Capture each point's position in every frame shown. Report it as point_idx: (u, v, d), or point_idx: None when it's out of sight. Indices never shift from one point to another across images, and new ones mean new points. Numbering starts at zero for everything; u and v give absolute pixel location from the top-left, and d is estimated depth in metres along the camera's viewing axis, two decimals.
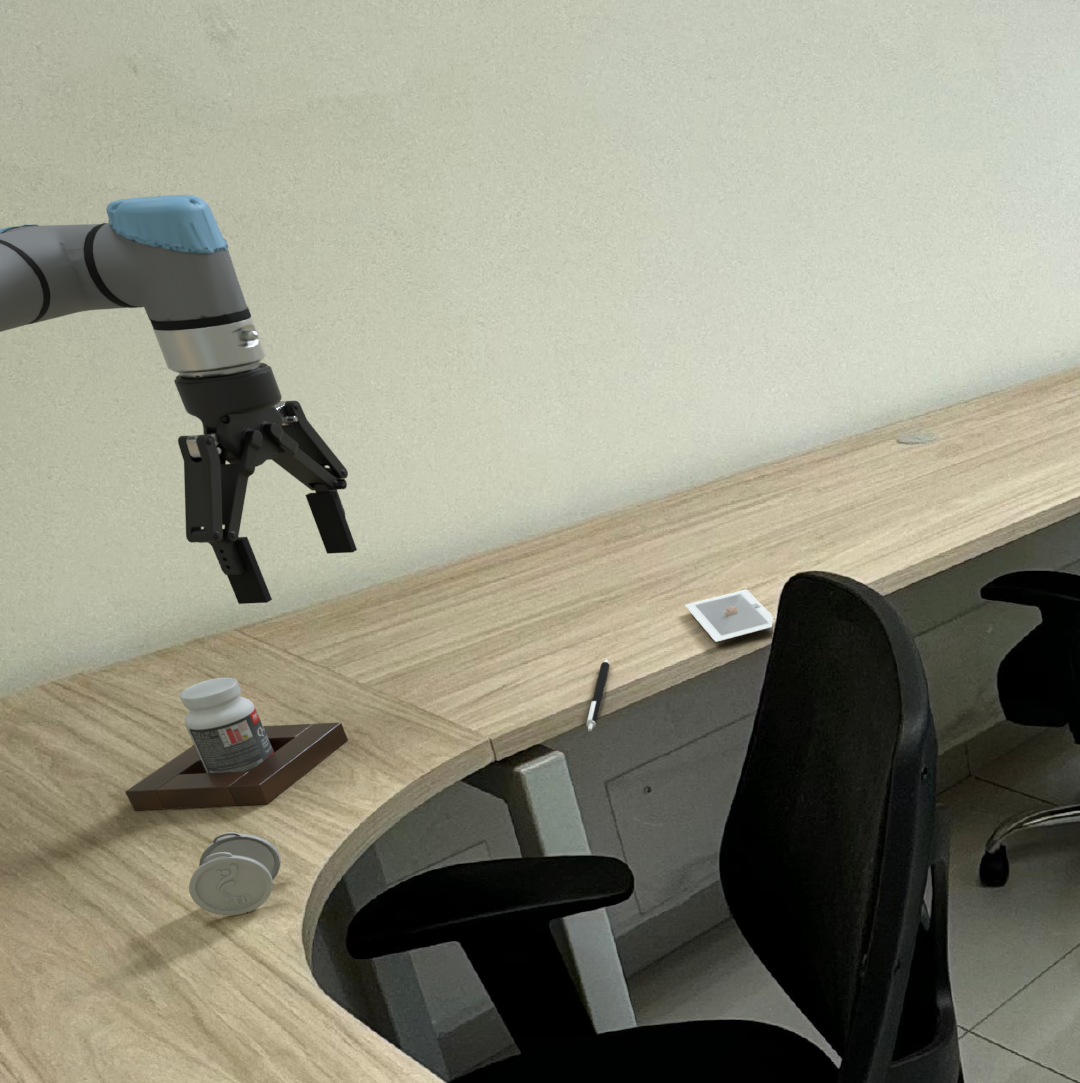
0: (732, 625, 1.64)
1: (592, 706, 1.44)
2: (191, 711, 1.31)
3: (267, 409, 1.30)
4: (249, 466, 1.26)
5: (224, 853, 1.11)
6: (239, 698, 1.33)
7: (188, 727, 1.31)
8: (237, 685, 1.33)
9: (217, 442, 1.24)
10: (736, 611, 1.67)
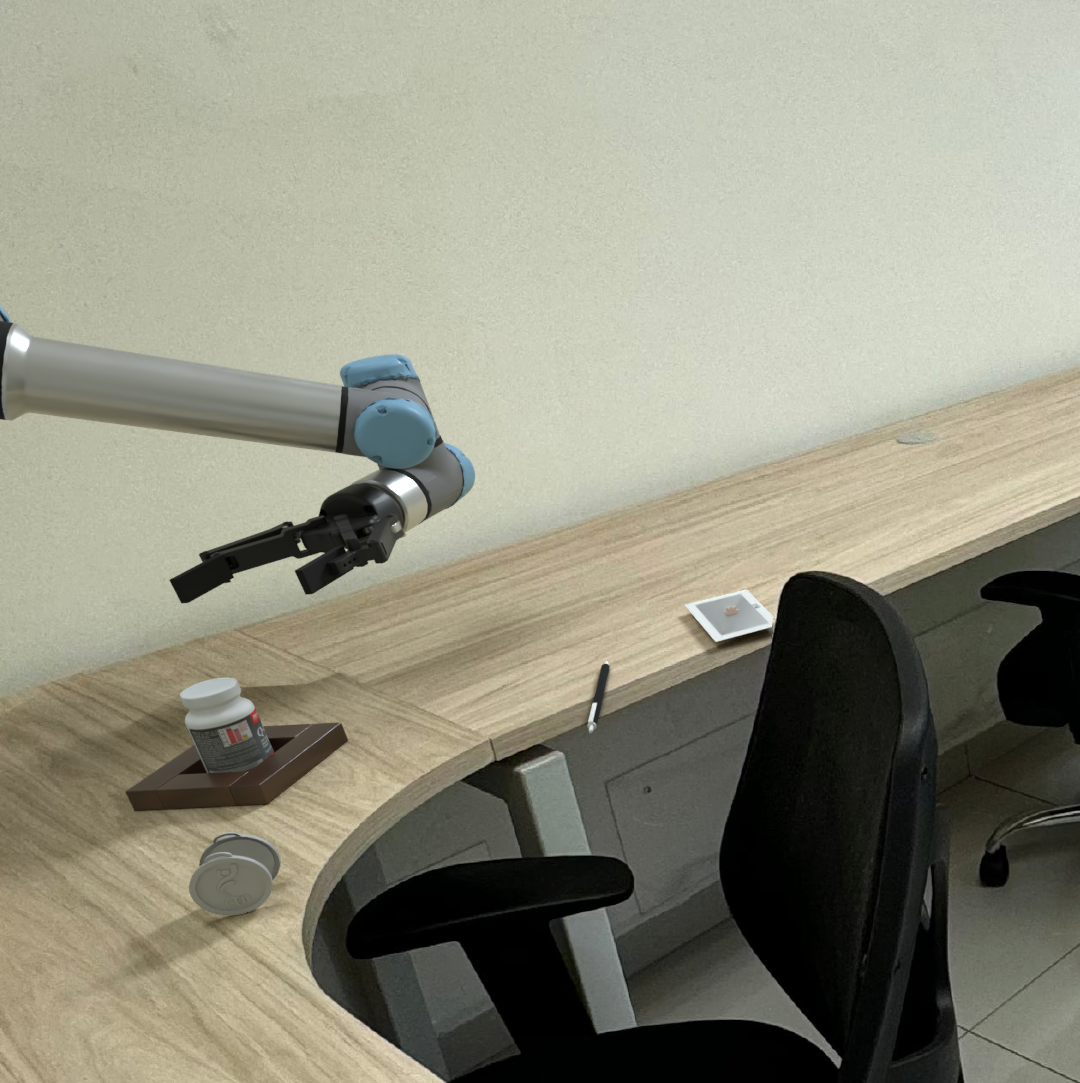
0: (732, 625, 1.64)
1: (593, 708, 1.44)
2: (191, 711, 1.31)
3: None
4: None
5: (224, 853, 1.11)
6: (239, 698, 1.33)
7: (188, 727, 1.31)
8: (237, 685, 1.33)
9: None
10: (736, 611, 1.67)
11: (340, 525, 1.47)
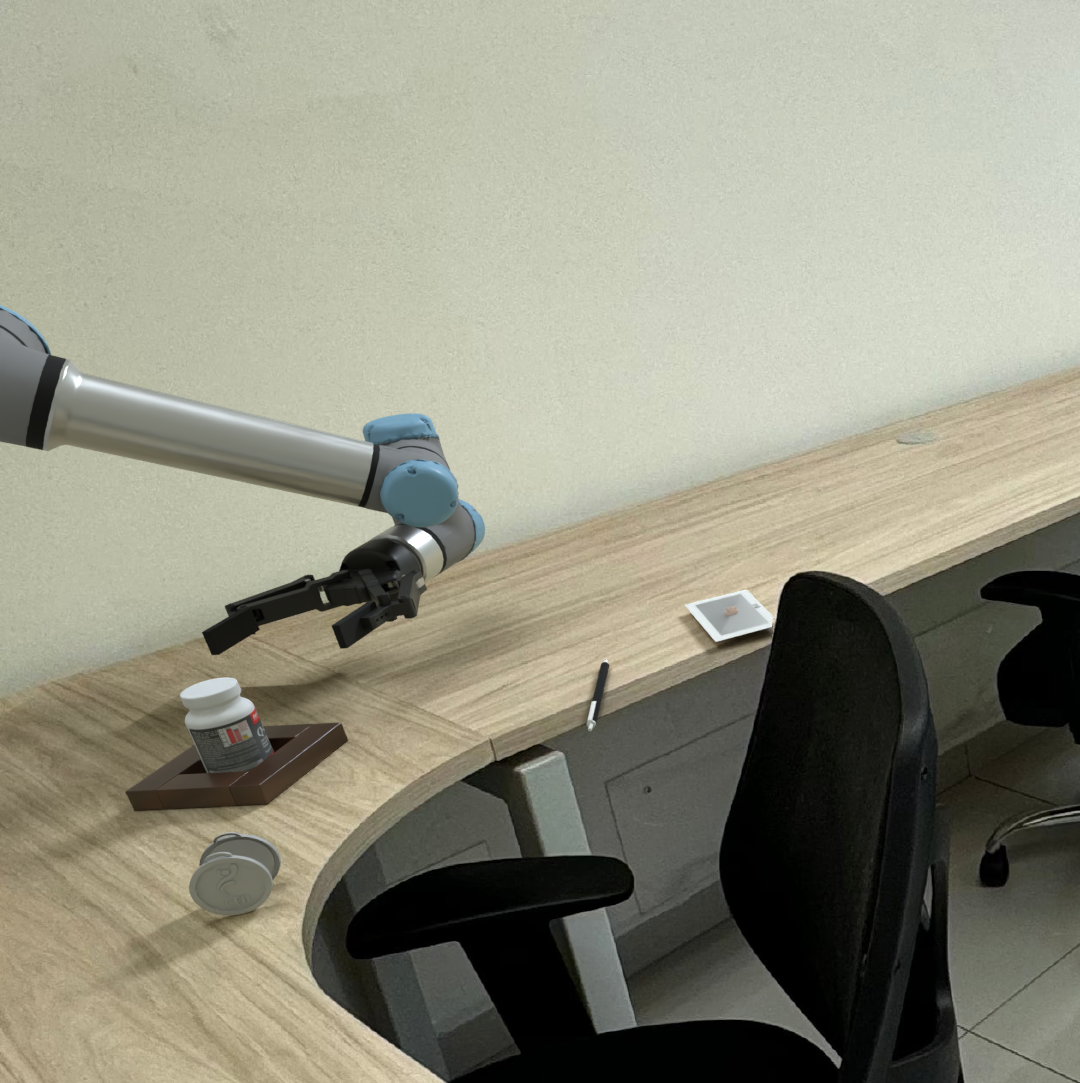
0: (732, 625, 1.64)
1: (592, 706, 1.44)
2: (191, 711, 1.31)
3: None
4: None
5: (224, 853, 1.11)
6: (239, 698, 1.33)
7: (188, 727, 1.31)
8: (237, 685, 1.33)
9: None
10: (736, 611, 1.67)
11: (366, 580, 1.51)
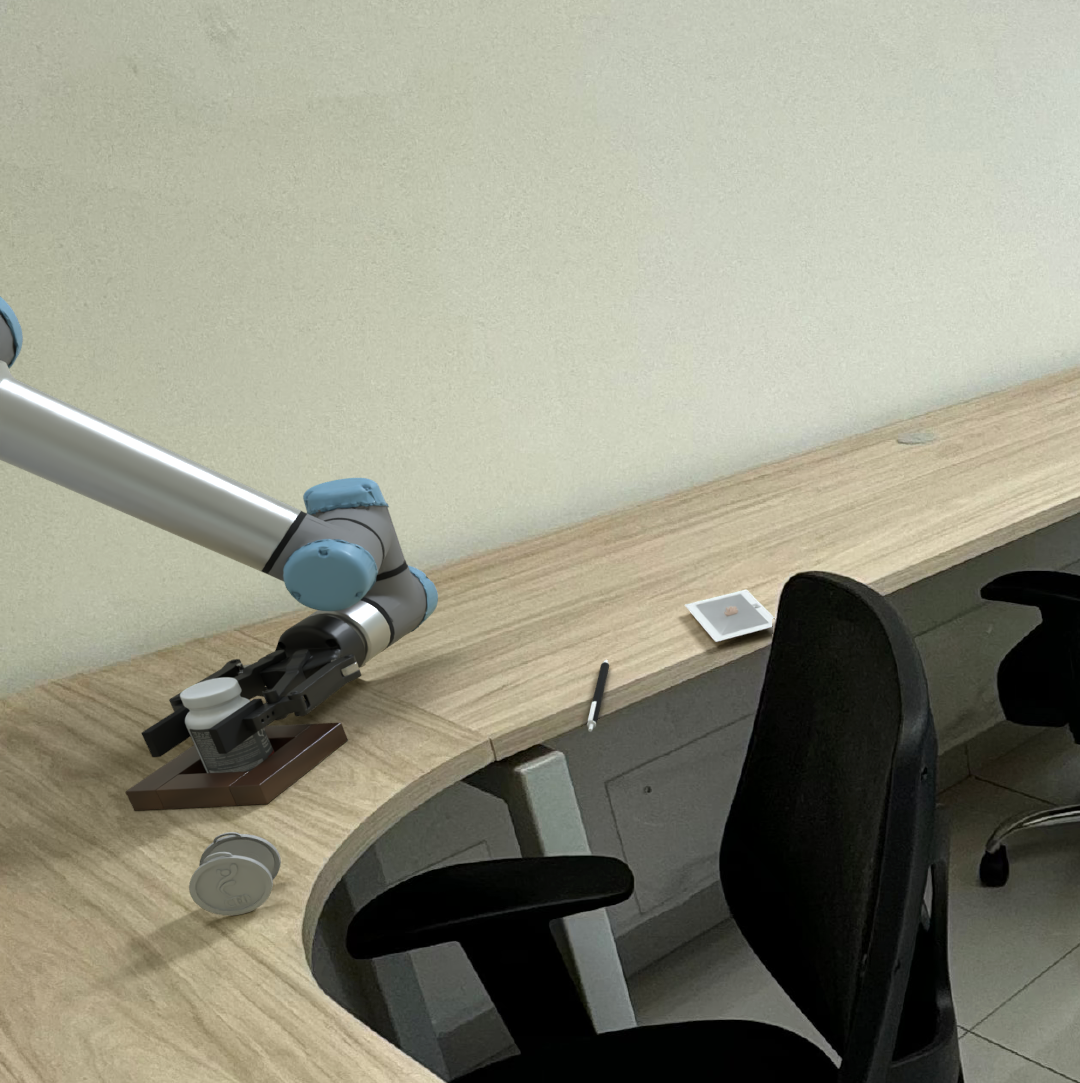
0: (732, 625, 1.64)
1: (592, 706, 1.44)
2: (191, 711, 1.31)
3: None
4: None
5: (224, 853, 1.11)
6: (239, 698, 1.33)
7: (188, 727, 1.31)
8: (237, 685, 1.33)
9: None
10: (736, 611, 1.67)
11: (289, 665, 1.40)
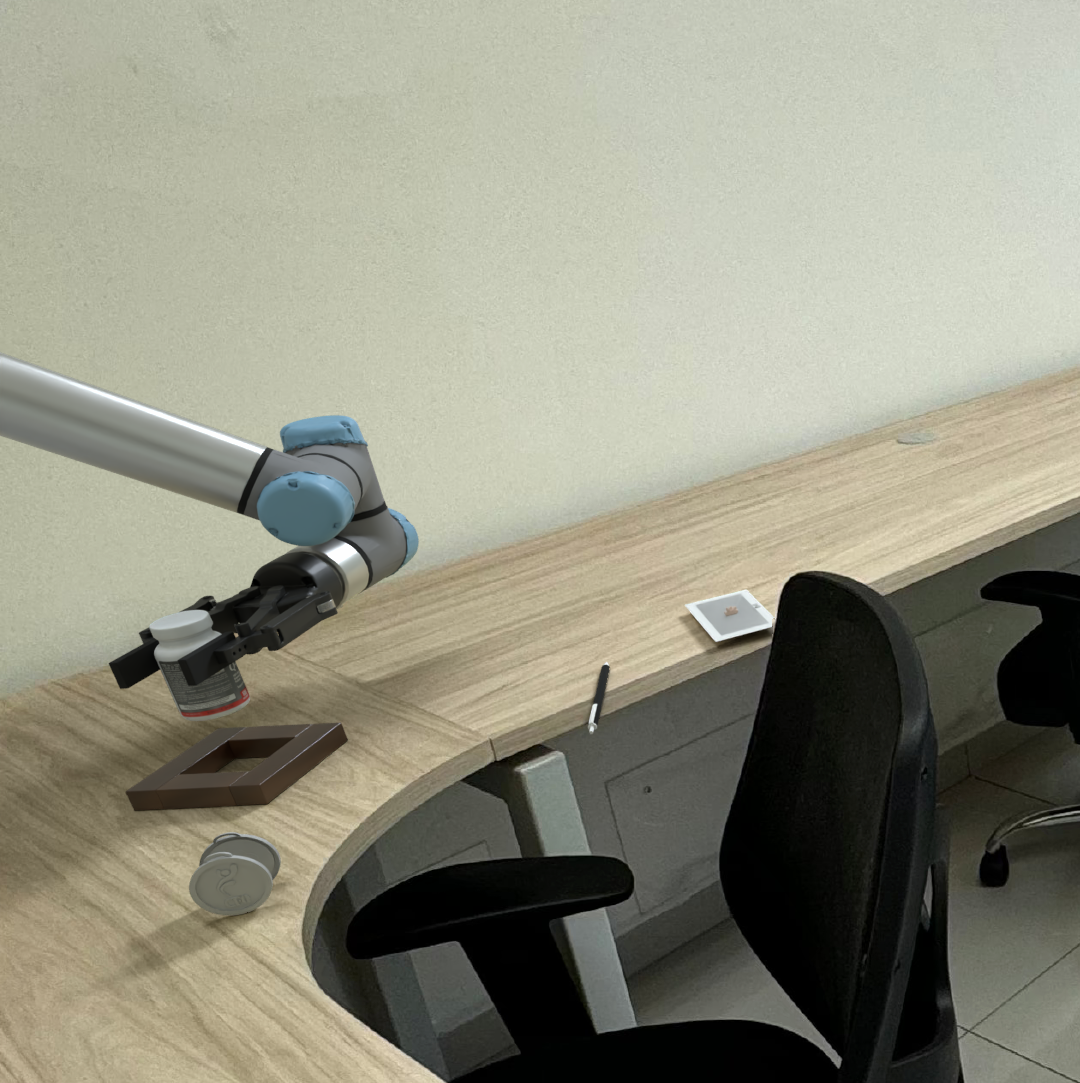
0: (732, 625, 1.64)
1: (593, 709, 1.44)
2: (161, 643, 1.28)
3: None
4: None
5: (224, 853, 1.11)
6: (210, 631, 1.30)
7: (157, 659, 1.28)
8: (208, 617, 1.29)
9: None
10: (736, 611, 1.67)
11: (263, 600, 1.37)
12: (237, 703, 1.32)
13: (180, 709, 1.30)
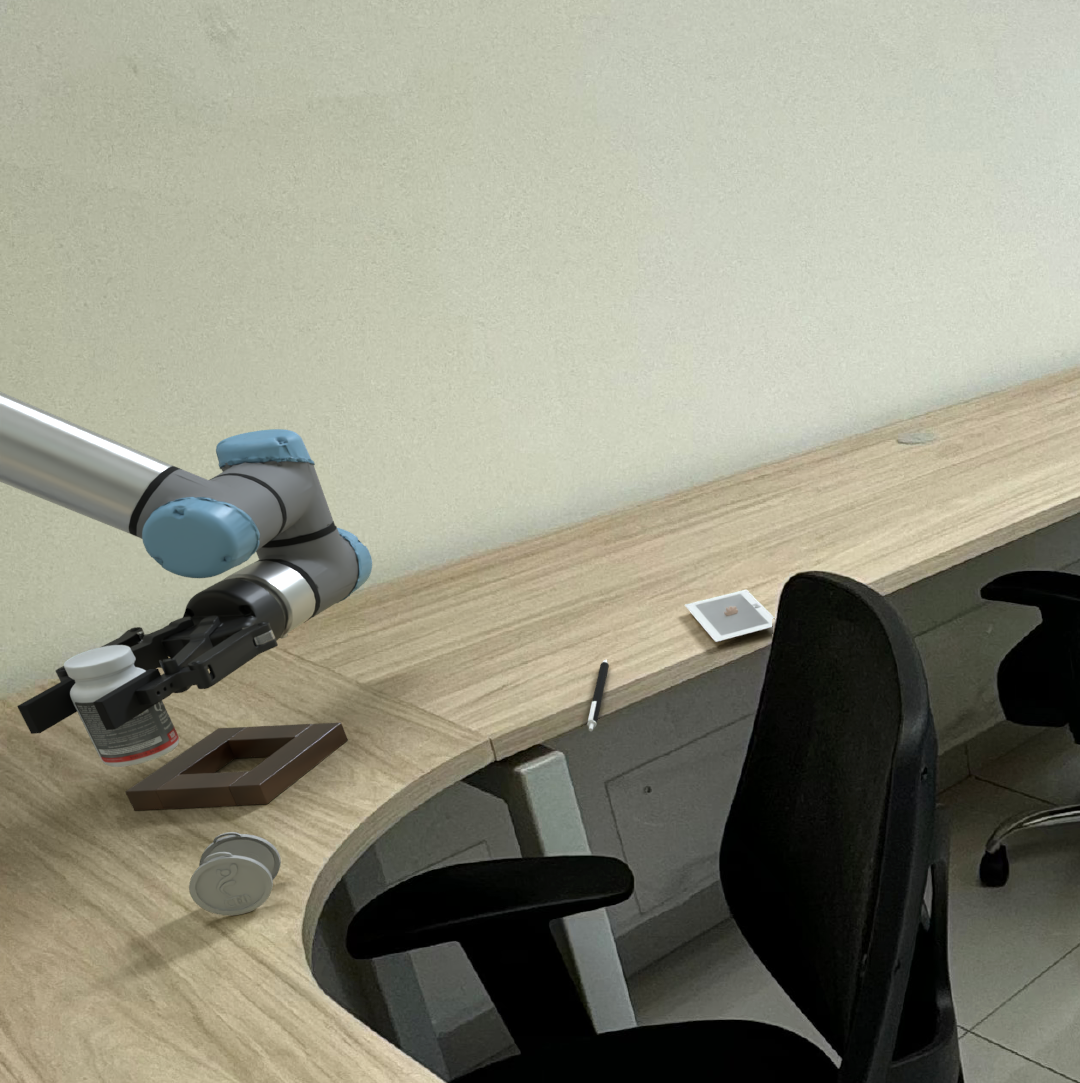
0: (732, 625, 1.64)
1: (592, 706, 1.44)
2: (77, 682, 1.16)
3: None
4: None
5: (224, 853, 1.11)
6: (133, 668, 1.19)
7: (73, 700, 1.16)
8: (130, 653, 1.18)
9: None
10: (736, 611, 1.67)
11: (194, 632, 1.26)
12: (164, 746, 1.20)
13: (100, 754, 1.18)
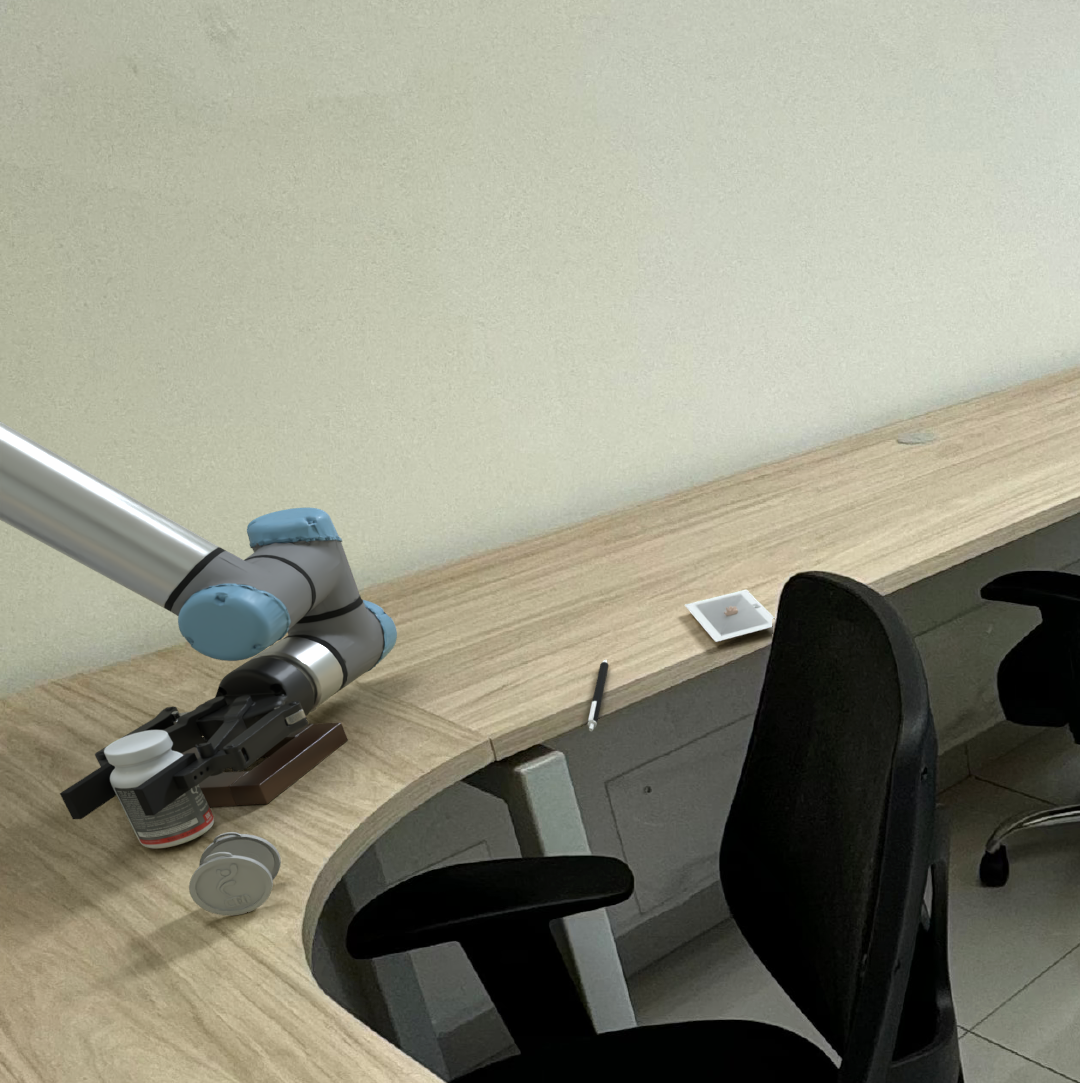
0: (732, 625, 1.64)
1: (592, 706, 1.44)
2: (116, 768, 1.20)
3: None
4: None
5: (224, 853, 1.11)
6: (170, 753, 1.22)
7: (113, 785, 1.20)
8: (168, 739, 1.22)
9: None
10: (736, 611, 1.67)
11: (228, 713, 1.29)
12: (200, 827, 1.24)
13: (138, 836, 1.22)
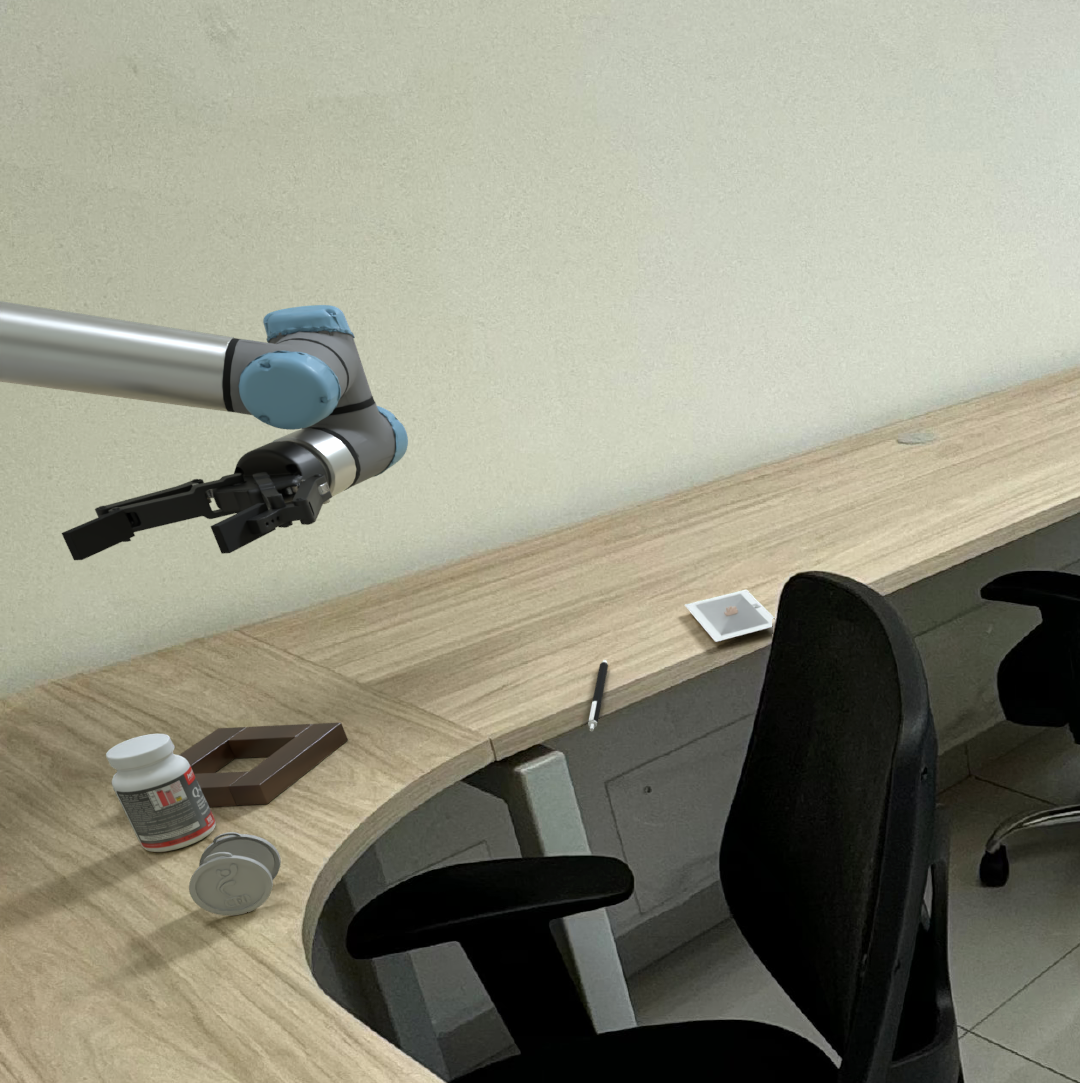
0: (732, 625, 1.64)
1: (593, 706, 1.44)
2: (118, 772, 1.20)
3: None
4: None
5: (224, 853, 1.11)
6: (172, 756, 1.22)
7: (115, 789, 1.20)
8: (170, 742, 1.22)
9: None
10: (736, 611, 1.67)
11: (260, 483, 1.33)
12: (201, 831, 1.24)
13: (140, 840, 1.22)
